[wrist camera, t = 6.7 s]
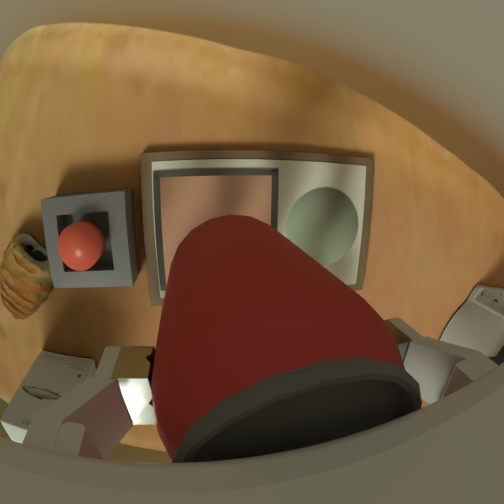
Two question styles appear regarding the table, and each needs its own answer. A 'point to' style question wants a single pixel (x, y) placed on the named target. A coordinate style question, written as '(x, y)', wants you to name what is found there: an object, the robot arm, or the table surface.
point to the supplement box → (44, 389)
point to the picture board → (259, 204)
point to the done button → (81, 245)
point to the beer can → (267, 349)
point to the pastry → (24, 276)
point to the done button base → (115, 231)
